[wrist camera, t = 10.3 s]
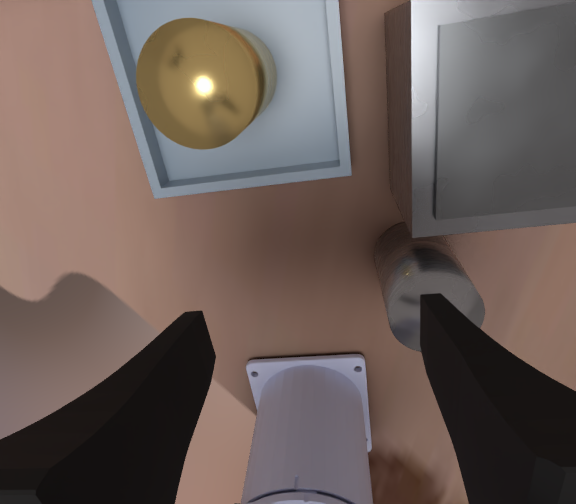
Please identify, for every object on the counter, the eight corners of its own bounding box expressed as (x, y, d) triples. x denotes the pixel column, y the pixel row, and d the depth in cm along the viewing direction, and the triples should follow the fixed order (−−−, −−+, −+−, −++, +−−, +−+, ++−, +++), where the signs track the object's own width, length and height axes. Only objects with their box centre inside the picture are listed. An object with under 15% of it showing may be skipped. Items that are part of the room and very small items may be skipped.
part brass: (281, 118, 19) (262, 145, 14) (200, 125, 19) (152, 153, 14) (271, 22, 17) (246, 10, 12) (183, 32, 18) (121, 25, 12)
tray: (349, 165, 20) (351, 175, 19) (166, 187, 22) (154, 198, 20) (330, -79, 16) (331, -92, 14) (101, -31, 17) (78, -39, 16)
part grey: (445, 280, 23) (481, 350, 18) (375, 285, 24) (390, 354, 18) (448, 217, 21) (488, 274, 16) (372, 224, 22) (387, 282, 17)
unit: (596, 173, 20) (704, 224, 14) (390, 195, 21) (413, 250, 15) (642, -41, 16) (817, -87, 10) (384, 5, 17) (413, -14, 11)
